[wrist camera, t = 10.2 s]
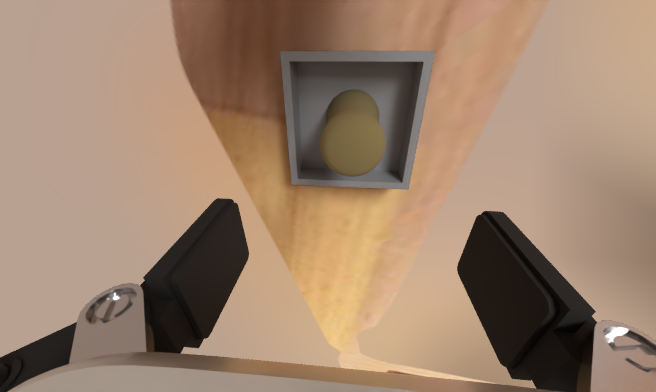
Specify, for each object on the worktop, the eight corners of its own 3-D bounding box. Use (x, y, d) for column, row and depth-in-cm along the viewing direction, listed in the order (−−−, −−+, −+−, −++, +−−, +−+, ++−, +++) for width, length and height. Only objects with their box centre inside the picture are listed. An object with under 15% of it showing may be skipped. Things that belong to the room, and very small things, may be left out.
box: (289, 51, 25) (279, 51, 22) (423, 51, 24) (435, 50, 21) (298, 170, 32) (291, 184, 29) (402, 174, 31) (408, 189, 28)
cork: (330, 147, 29) (319, 191, 20) (321, 94, 26) (304, 116, 17) (380, 140, 28) (395, 184, 19) (377, 84, 25) (393, 103, 16)
